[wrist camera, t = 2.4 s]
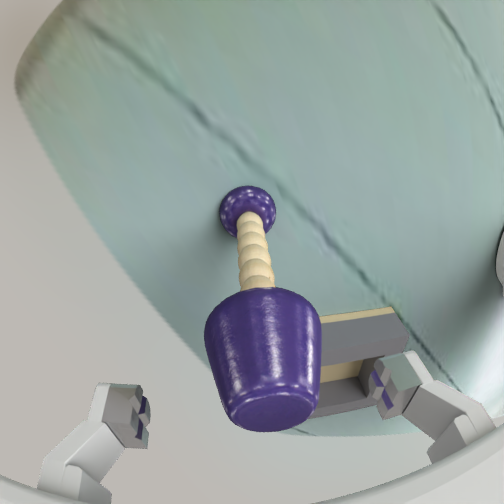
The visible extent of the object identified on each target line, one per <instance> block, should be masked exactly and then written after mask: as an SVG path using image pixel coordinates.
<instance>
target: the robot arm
mask: <svg viewBox="0 0 504 504" xmlns="http://www.w3.org/2000/svg"><path fill="white" fill-rule="evenodd" d="M496 273H497V277H498V279H499V281H500V282H501V284H502V286H503V297H504V232H503V235H502V238H501V241H500V244H499V248H498V253H497V259H496ZM374 368H375V370H374V371H373V372H372V373H371V374H370V377H369V390H370V393H371V395H372V397H373V398H375V399H376V400H378V403H377V408H378V411H379V413H380V415H381V417H382V419H383V420H384V419H388V418H391V417H395V416H398V415H401V414H403V415H402V416H404V417H405V418H406V419H407V420H409V421H410V422H411V423H413V424H414V425H415V426H417V427H418V428H419V429H420V430H422V431H423V432H424V433H426V434H427V435H429V436H430V437H431V438H432V439H434V440H435V442H434V443H433V445H432V446H431V447H430V448H429V449H428V451H427V453H428V456H429V458H430V460H431V462H432V464H431V465H429V466H426V467H424V468H422V469H420V470H417V471H415V472H413V473H410V474H408V475H405V476H403V477H401V478H398V479H395V480H392V481H390V482H387V483H384V484H381V485H378V486H376V487H372V488H369V489H366V490H363V491H360V492H356V493H353V494H349V495H346V496H342V497H338V498H335V499H331V500H326V501H322V502H318V503H312V504H504V423H503V424H502V425H500V426H499V427H497V428H496V427H495V425H494V423H493V421H492V420H491V418H490V416H489V415H488V413H487V412H486V410H485V408H484V407H483V405H482V404H481V403H479V402H477V401H475V400H474V399H472V398H470V397H468V396H466V395H464V394H462V393H461V392H459V391H457V390H455V389H453V388H451V387H449V386H448V385H446V384H444V383H442V382H440V381H438V380H433V378H432V377H431V375H430V374H429V372H428V370H427V369H426V367H425V366H424V364H423V363H422V361H421V360H420V358H419V357H418V355H417V353H416V352H415V351H413V350H411V351H407V352H404V353H399V354H395V355H391V356H387V357H383V358H379V359H377V360H376V361H375V363H374ZM142 394H143V390H142V388H141V386H140V385H127V384H111V383H98V385H97V386H96V389H95V393H94V396H93V400H92V403H91V407H90V411H89V415H88V419H87V421H86V420H83V421H82V422H81V423H80V424H79V425H78V426H77V427H76V428H75V429H74V430H73V431H72V432H71V433H70V434H69V435H68V436H66V438H64V440H62V441H61V442H60V443H59V444H58V445H57V446H56V447H55V448H54V449H53V450H52V451H51V452H50V453H49V454H48V455H47V456H46V457H45V458H44V460H43V464H42V469H41V473H40V477H39V482H38V487H37V489H36V488H32V487H30V486H27V485H24V484H22V483H19V482H16V481H14V480H11V479H9V478H6V477H4V476H2V475H0V504H111V496H112V494H111V492H110V491H109V490H108V489H106V488H105V487H104V486H102V485H101V484H100V481H101V480H102V479H103V478H104V476H105V475H106V474H107V472H108V471H109V470H110V468H111V467H112V465H113V464H114V463H115V462H116V460H117V459H118V458H119V456H120V455H121V454H122V452H123V451H124V450H125V448H142V449H144V448H145V449H147V445H148V436H149V433H148V431H147V429H146V426H147V425H148V424H149V423H150V406H149V402H148V400H147V398H146V397H144V396H142Z"/></svg>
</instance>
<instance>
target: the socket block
mask: <svg viewBox="0 0 504 504" xmlns="http://www.w3.org/2000/svg"><path fill="white" fill-rule="evenodd" d="M319 318H320V322H321V330H322V353H321V375H320V391H319V400H318V404H317V407H316V409H315V411H314V413H313V414H312V415H311V416H310V417H309V418H308V419H310V418H316V417H322V416H328V415H333V414H338V413H343V412H348V411H352V410H357V409H361V408H365V407H369V406H373V405H377V403H378V400H376V399H375V398H373V397H372V395H371V393H370V390H369V377H370V374H371V373H372V372H373V371H374V370H375V368H374V363H375V361H376V360H377V359H379V358H383V357H387V356H391V355H395V354H399V353H403V351H404V348H405V346H406V343H407V341H408V338H409V336H410V334H409V333H408V331H407V330H406V328H405V327H404V325H403V324H402V322H401V321H400V319H399V318H398V316H397V315H396V313H395V312H394V310H393V309H392V307H385V308H379V309H372V310H366V311H359V312H352V313H344V314H336V315H328V316H320V317H319Z"/></svg>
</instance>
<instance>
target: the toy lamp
mask: <svg viewBox="0 0 504 504" xmlns="http://www.w3.org/2000/svg"><path fill="white" fill-rule="evenodd" d="M275 217H276V207H275V204H274V201H273V199H272V198H271V196H270V195H269V194H268V193H267V192H266V191H265V190H263V189H261V188H258V187H253V186H242V187H238V188H235V189H234V190H232V191H231V192H229V193H228V194H227V195H226V196H225V198H224V199H223V201H222V203H221V206H220V220H221V222H222V225H223V226H224V228H225V229H226V231H227V232H228V233H230V234H231V235H232V236H234V237H236V238H237V239H238V247H237V249H238V254H239V257H238V265H239V269H240V273H239V282H240V286H241V290H240V292H238V293H236V294H234V295H232V296H230V297H228V298H226V299H225V300H224V301H222V302H221V303H220V304H219V305H217V306H216V307H215V308H214V310H213V311H212V312H211V313H210V315H209V317H208V319H207V321H206V325H205V330H204V341H205V347H206V351H207V355H208V359H209V362H210V365H211V369H212V372H213V376H214V380H215V383H216V386H217V389H218V392H219V395H220V399H221V402H222V405H223V407H224V410H225V412H226V414H227V415H228V417H229V419H230V420H231V421H232V422H233V423H234V424H235V425H237V426H239V427H241V428H243V429H246V430H250V431H256V432H276V431H281V430H286V429H289V428H292V427H294V426H297V425H299V424H301V423H302V422H304V421H305V420H307V419H308V418H309V417H310V416H311V415H312V414H313V413H314V411H315V409H316V407H317V404H318V400H319V391H320V375H321V353H322V330H321V322H320V318H319V316H318V314H317V312H316V310H315V308H314V307H313V306H312V305H311V303H310V302H309V301H307V300H306V299H305V298H304V297H302V296H301V295H299V294H296V293H295V292H292V291H289V290H286V289H283V288H277V287H276V286H275V285H274V273H273V270H272V268H271V258H270V255H269V253H268V244H267V242H266V240H265V234H266V233H267V232H268V231H269V230H270V229H271V227H272V225H273V224H274V221H275Z"/></svg>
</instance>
